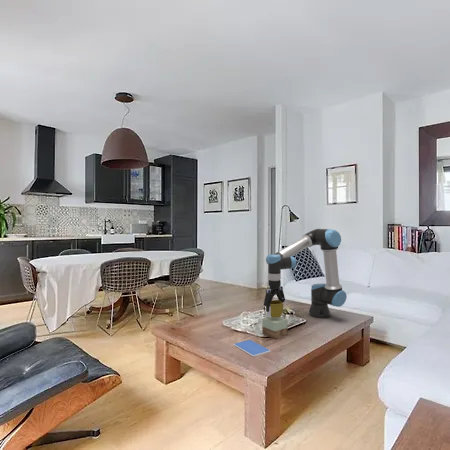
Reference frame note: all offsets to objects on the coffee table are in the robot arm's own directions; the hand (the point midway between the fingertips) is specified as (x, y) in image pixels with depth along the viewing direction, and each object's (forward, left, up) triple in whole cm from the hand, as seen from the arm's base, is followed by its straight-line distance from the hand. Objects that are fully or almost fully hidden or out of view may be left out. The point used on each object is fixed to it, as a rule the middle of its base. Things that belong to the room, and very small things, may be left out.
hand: (274, 314), depth 202 cm
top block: (0, 0, -8) cm, 8 cm away
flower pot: (0, 0, -1) cm, 1 cm away
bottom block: (0, 0, -13) cm, 13 cm away
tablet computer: (+26, +4, -13) cm, 29 cm away
